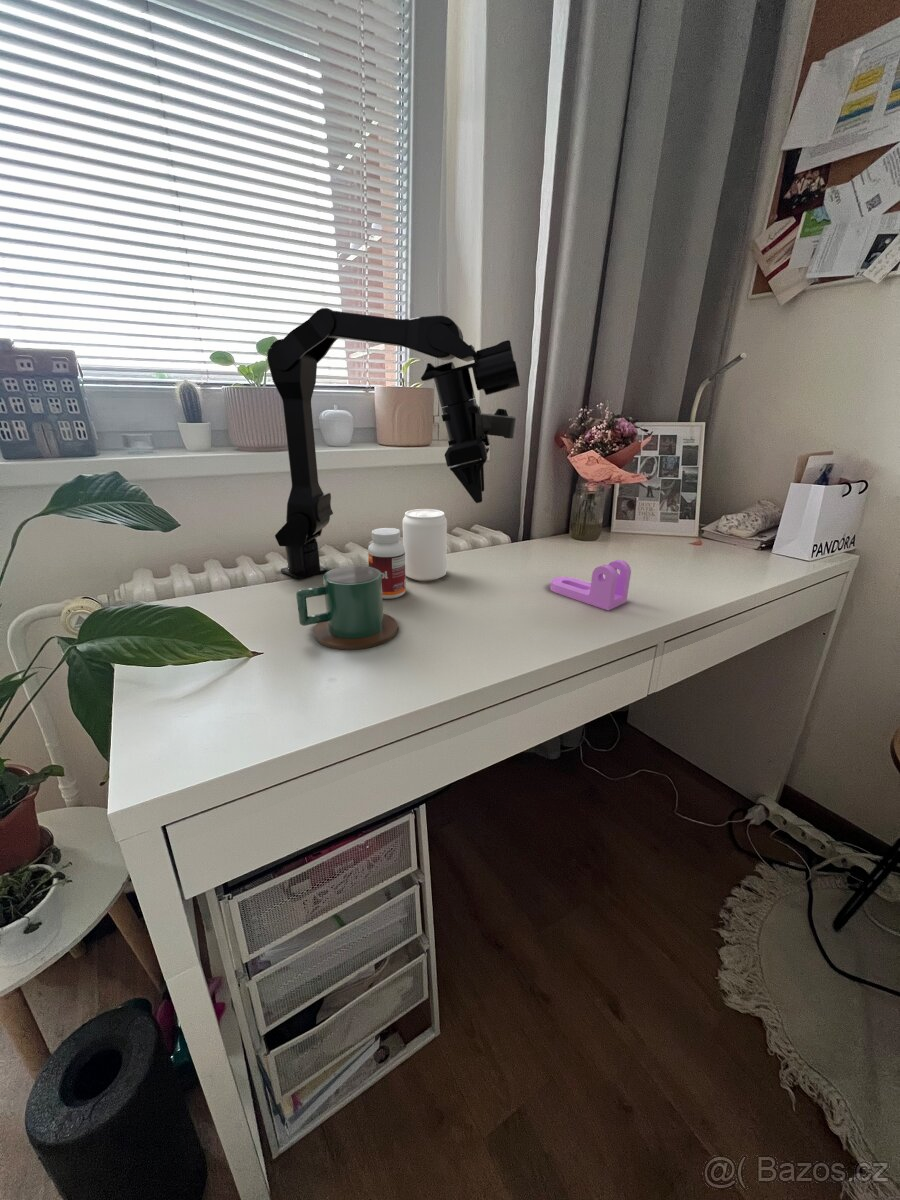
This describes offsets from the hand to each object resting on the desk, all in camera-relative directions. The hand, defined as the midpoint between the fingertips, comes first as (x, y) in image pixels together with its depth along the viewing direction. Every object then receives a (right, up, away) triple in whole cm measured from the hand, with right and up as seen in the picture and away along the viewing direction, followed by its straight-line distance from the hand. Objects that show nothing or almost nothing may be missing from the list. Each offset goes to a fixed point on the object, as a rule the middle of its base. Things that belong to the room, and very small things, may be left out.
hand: (480, 496), depth 87 cm
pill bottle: (-16, -17, 0) cm, 23 cm away
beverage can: (-10, -13, +9) cm, 19 cm away
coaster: (-19, -22, -14) cm, 33 cm away
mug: (-21, -22, -15) cm, 34 cm away
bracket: (+18, -17, 0) cm, 25 cm away
